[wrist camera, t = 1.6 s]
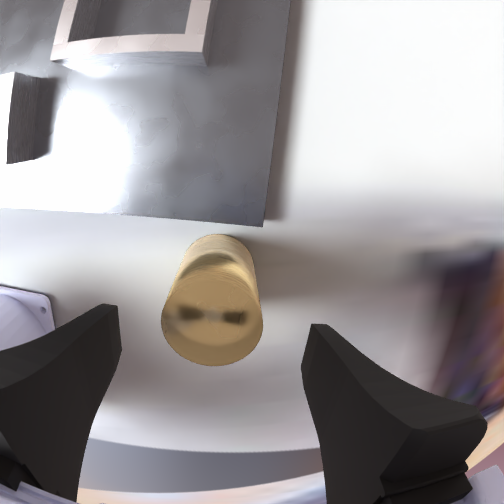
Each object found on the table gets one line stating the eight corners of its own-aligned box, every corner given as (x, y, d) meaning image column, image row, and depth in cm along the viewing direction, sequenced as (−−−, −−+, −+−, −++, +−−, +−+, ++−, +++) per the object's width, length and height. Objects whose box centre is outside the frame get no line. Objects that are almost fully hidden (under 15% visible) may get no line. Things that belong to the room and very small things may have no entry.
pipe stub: (249, 303, 19) (256, 369, 13) (181, 297, 18) (162, 360, 13) (257, 237, 17) (269, 284, 12) (184, 230, 17) (160, 274, 11)
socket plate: (260, 220, 17) (268, 242, 13) (-29, 200, 15) (-66, 215, 12) (292, -44, 12) (305, -80, 8) (2, -13, 10) (-29, -28, 6)
